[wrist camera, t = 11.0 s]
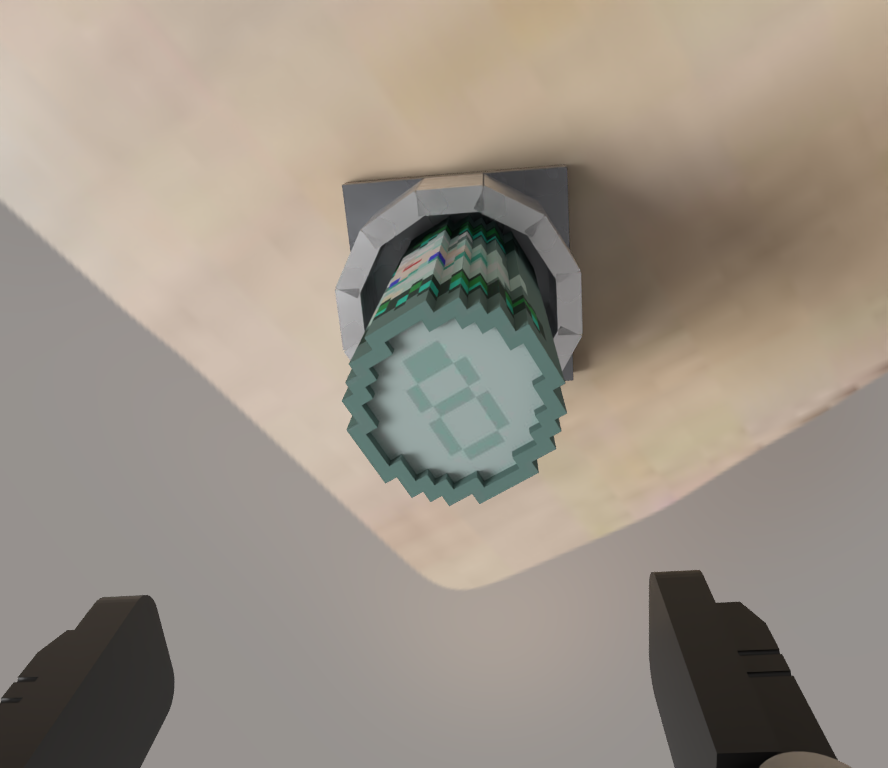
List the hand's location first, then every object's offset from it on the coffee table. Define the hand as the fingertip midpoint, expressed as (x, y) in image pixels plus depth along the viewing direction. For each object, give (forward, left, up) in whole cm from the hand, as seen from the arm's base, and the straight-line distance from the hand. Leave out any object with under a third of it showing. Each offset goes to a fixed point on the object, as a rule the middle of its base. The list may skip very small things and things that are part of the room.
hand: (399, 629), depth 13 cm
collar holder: (0, 0, -26) cm, 26 cm away
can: (0, 0, -25) cm, 25 cm away
